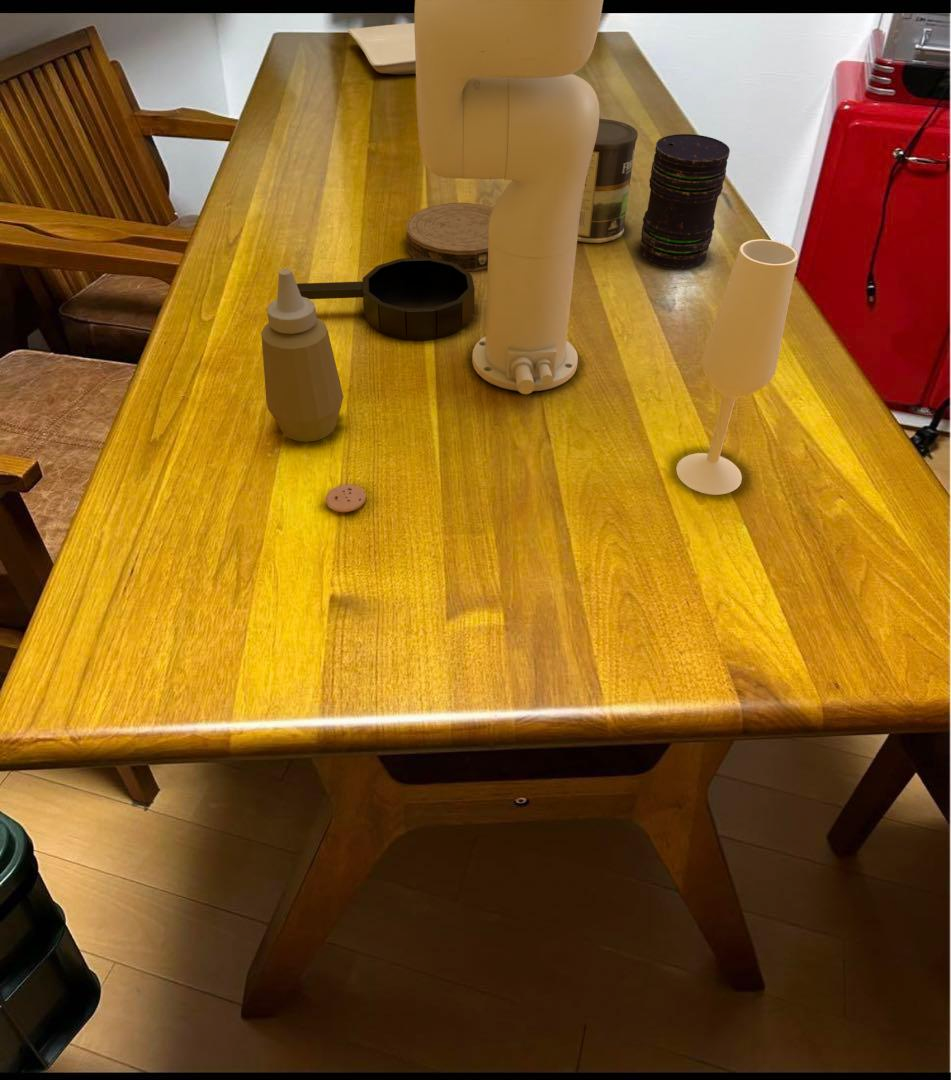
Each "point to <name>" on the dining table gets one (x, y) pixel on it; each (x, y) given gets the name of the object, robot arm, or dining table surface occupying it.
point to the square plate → (388, 47)
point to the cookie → (345, 498)
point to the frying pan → (408, 297)
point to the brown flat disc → (451, 234)
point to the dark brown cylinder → (683, 200)
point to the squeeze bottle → (299, 366)
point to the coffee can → (607, 183)
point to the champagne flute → (742, 350)
